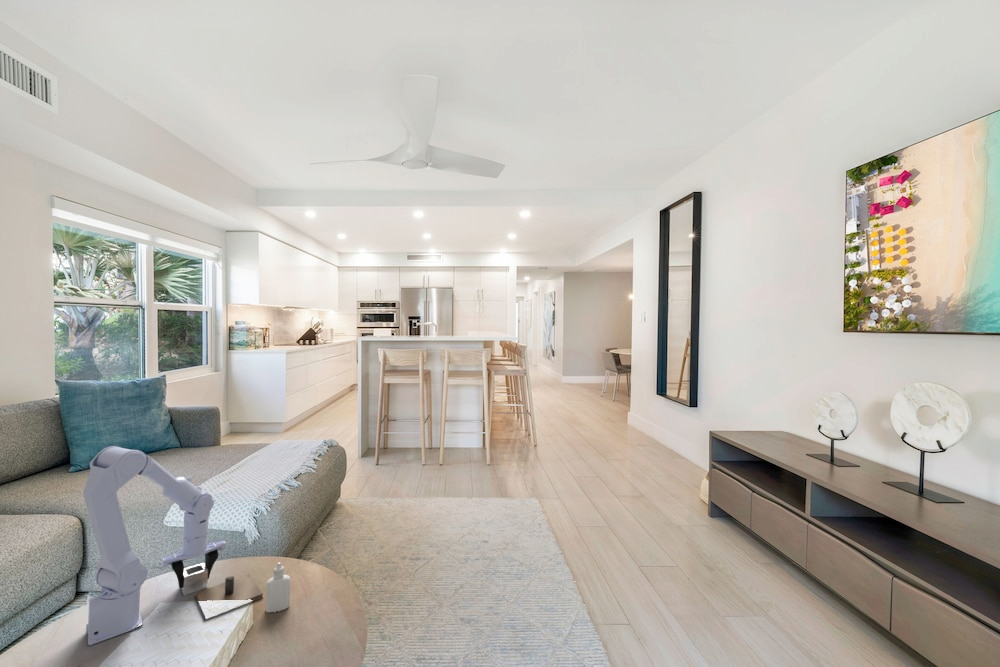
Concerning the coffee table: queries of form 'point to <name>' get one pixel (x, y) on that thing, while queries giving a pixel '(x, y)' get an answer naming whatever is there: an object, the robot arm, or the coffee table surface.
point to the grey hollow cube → (194, 578)
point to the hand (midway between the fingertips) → (194, 582)
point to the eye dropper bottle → (278, 590)
